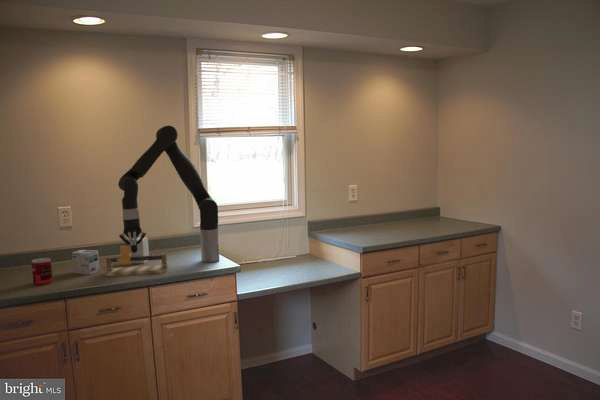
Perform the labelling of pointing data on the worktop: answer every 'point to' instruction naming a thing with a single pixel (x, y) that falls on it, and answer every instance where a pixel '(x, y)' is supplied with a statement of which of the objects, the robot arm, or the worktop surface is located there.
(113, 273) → the beige long open box
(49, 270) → the canned food
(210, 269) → the worktop surface
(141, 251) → the supplement box
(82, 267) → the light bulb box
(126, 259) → the sleeve
